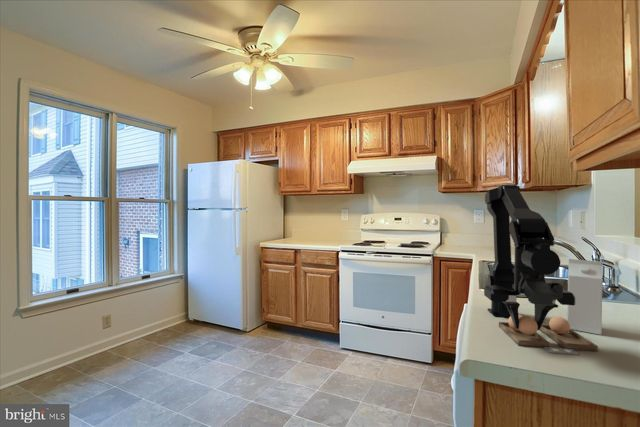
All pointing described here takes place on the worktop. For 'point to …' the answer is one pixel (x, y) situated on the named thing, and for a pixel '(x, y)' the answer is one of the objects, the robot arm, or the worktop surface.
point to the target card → (561, 350)
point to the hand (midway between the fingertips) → (527, 328)
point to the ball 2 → (527, 325)
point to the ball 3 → (559, 325)
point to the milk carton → (585, 295)
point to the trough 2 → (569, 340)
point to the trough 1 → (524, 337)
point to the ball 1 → (513, 323)
